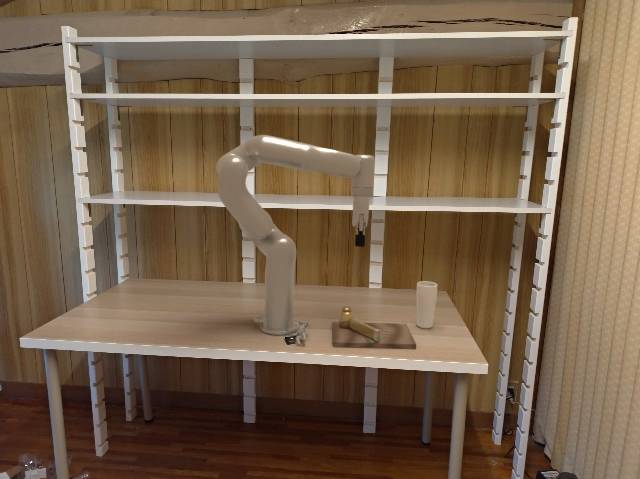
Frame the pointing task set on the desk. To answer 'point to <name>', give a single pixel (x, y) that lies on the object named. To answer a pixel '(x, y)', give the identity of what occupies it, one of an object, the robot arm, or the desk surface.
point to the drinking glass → (426, 303)
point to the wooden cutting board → (390, 338)
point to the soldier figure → (301, 332)
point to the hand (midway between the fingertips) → (359, 246)
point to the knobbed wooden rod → (357, 324)
